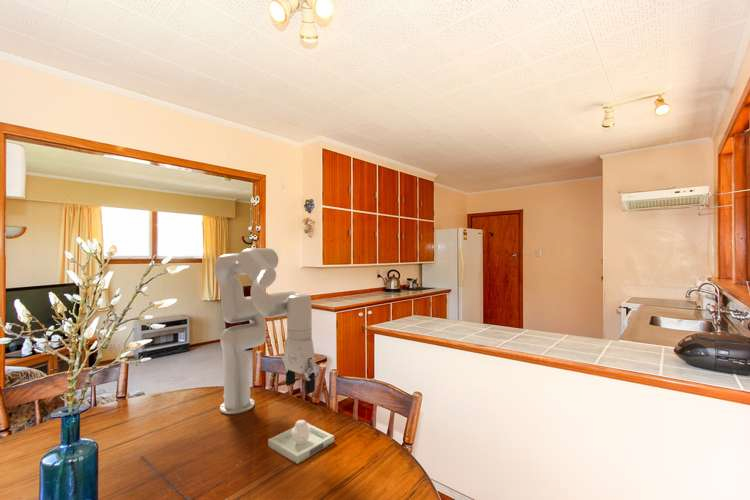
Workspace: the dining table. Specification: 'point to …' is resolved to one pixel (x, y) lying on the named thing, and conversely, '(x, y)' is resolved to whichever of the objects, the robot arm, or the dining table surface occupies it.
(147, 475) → the dining table surface
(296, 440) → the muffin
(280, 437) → the tray
